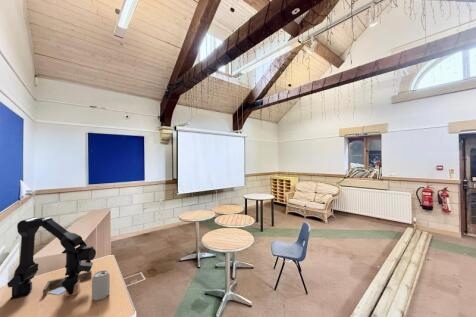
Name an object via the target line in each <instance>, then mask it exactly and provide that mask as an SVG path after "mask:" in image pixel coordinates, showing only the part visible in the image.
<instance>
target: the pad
mask: <svg viewBox="0 0 476 317" xmlns="http://www.w3.org/2000/svg"><path fill="white" fill-rule="evenodd" d="M63 293H66V289H65V288H64V287H62V285H60V286H57V287H56V288H55V289H52V290H51V291H50V292H49V291H48V294H52V295H57V296H60V295H61V294H63Z"/></svg>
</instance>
